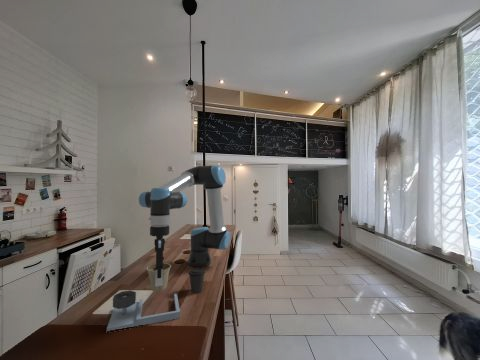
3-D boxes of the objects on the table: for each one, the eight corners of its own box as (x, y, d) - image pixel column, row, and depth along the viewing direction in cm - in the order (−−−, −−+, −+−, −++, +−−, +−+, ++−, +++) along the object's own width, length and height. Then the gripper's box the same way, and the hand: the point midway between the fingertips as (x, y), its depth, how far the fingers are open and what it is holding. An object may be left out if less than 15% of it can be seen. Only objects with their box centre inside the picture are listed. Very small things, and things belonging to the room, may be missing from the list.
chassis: (176, 298, 101) (177, 281, 101) (179, 318, 86) (180, 297, 86) (115, 309, 92) (115, 289, 93) (106, 332, 77) (106, 309, 78)
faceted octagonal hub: (136, 297, 91) (136, 289, 91) (134, 306, 84) (134, 298, 84) (115, 300, 89) (115, 292, 89) (111, 310, 82) (111, 301, 82)
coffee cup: (208, 288, 111) (208, 268, 112) (200, 295, 104) (200, 274, 104) (193, 286, 114) (194, 266, 114) (184, 293, 106) (185, 271, 107)
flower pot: (156, 296, 84) (156, 272, 85) (141, 289, 89) (141, 268, 90) (175, 286, 92) (175, 265, 93) (160, 281, 97) (161, 261, 98)
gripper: (150, 221, 101) (150, 272, 100) (148, 230, 80) (147, 294, 79) (168, 221, 103) (167, 270, 102) (170, 229, 83) (169, 291, 82)
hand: (158, 280), depth 91 cm, fingers closed on flower pot, 9 cm apart
